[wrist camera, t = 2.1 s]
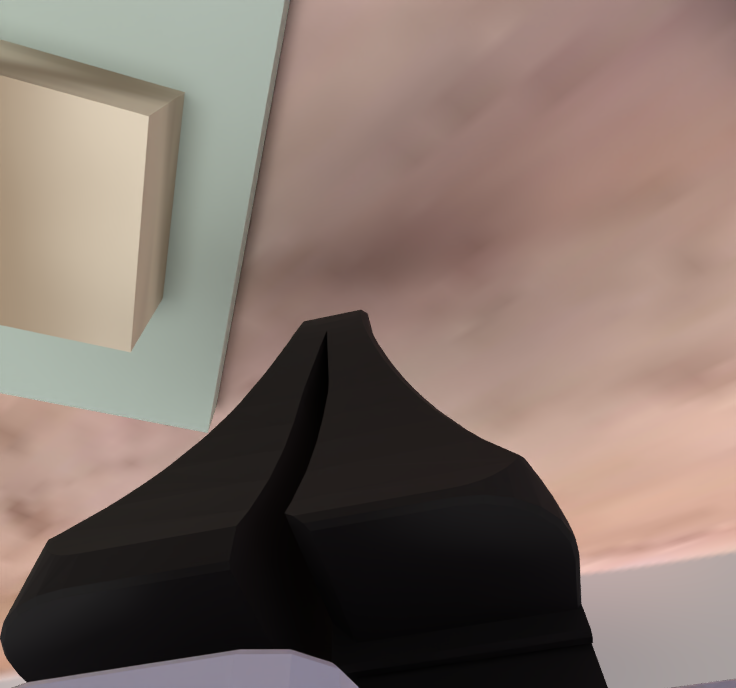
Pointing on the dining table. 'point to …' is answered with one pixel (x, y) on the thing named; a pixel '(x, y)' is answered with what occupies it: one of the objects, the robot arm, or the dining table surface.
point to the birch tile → (83, 197)
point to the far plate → (190, 203)
